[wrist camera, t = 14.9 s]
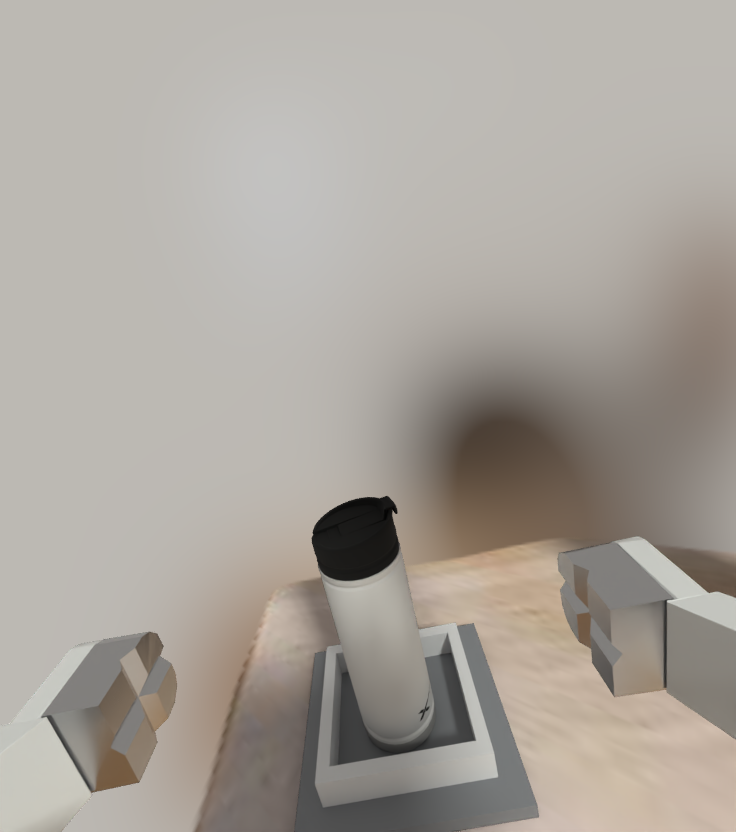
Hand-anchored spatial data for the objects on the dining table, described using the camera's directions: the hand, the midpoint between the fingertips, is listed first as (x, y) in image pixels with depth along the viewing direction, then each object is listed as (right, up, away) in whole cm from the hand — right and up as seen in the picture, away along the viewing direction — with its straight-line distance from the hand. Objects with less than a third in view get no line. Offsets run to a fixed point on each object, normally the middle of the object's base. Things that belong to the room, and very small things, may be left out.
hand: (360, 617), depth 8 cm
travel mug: (+3, -22, +27) cm, 35 cm away
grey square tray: (+3, -23, +28) cm, 36 cm away
